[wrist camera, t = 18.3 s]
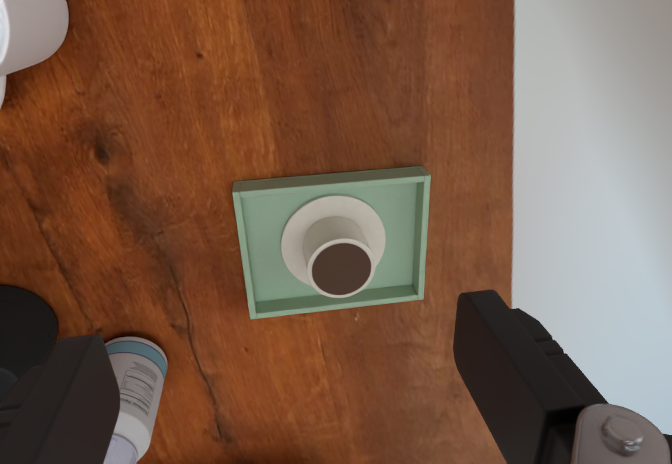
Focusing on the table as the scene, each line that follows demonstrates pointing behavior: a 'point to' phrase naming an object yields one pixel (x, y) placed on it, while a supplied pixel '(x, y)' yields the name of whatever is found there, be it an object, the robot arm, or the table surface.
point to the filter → (333, 244)
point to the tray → (291, 192)
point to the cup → (29, 34)
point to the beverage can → (135, 396)
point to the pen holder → (23, 334)
